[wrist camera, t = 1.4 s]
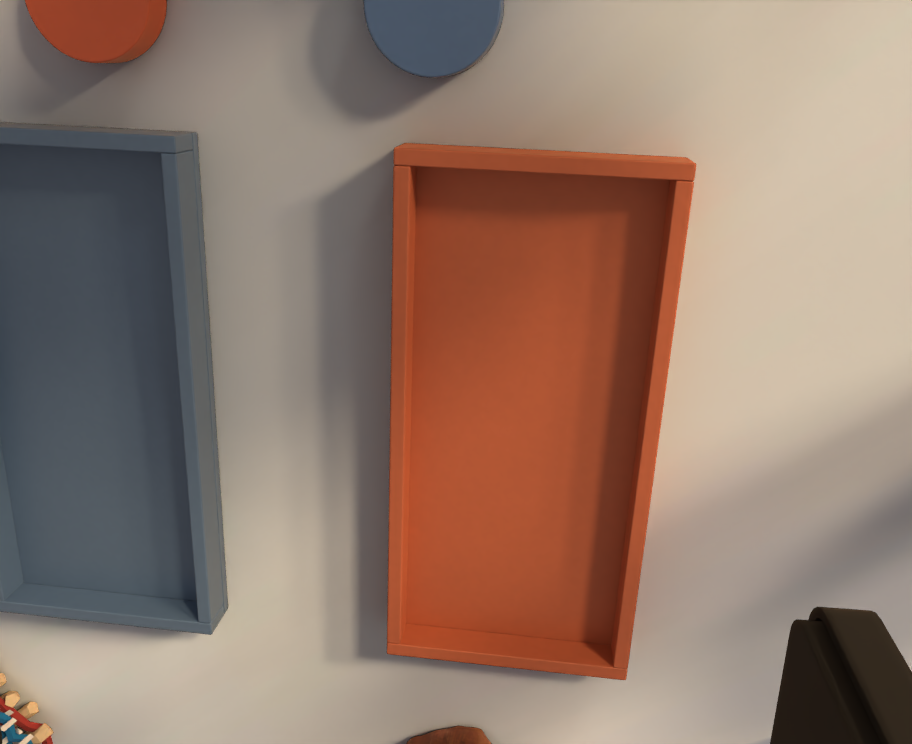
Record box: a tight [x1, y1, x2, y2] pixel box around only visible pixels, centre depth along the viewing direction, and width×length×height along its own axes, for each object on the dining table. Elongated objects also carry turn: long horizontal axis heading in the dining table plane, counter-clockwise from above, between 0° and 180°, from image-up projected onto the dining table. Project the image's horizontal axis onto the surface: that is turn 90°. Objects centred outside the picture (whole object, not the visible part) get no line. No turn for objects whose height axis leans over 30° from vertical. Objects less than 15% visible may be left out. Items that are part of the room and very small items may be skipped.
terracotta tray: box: [387, 143, 696, 680], centre depth 33 cm, size 21×10×2 cm, turn 178°
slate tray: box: [0, 122, 228, 635], centre depth 34 cm, size 21×10×2 cm, turn 178°
